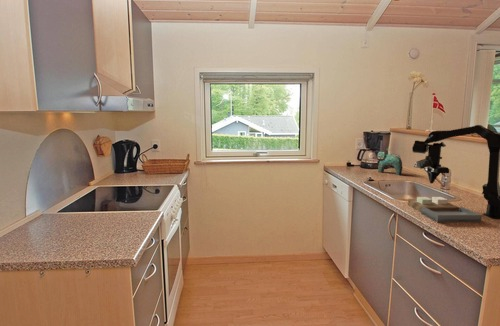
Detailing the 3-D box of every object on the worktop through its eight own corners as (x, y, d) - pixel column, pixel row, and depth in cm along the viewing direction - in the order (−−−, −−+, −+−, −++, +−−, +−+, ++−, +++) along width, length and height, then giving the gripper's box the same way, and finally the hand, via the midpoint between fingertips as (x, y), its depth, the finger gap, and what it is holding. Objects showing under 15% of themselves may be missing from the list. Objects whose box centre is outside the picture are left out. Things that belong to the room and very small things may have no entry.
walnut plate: (458, 213, 155) (459, 207, 155) (422, 213, 155) (423, 207, 154) (440, 204, 169) (441, 199, 168) (407, 205, 168) (408, 199, 168)
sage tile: (431, 204, 160) (432, 199, 159) (422, 204, 160) (422, 199, 159) (426, 201, 165) (426, 196, 164) (416, 201, 165) (417, 196, 164)
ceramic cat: (375, 172, 261) (377, 148, 257) (379, 171, 265) (381, 147, 262) (399, 175, 246) (401, 150, 242) (403, 174, 250) (405, 149, 247)
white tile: (447, 204, 160) (447, 199, 160) (437, 204, 160) (438, 199, 159) (441, 201, 165) (441, 196, 165) (431, 201, 165) (432, 196, 164)
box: (480, 222, 142) (481, 215, 142) (437, 222, 142) (438, 215, 141) (460, 213, 155) (461, 206, 155) (421, 213, 154) (421, 206, 154)
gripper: (409, 152, 176) (407, 179, 178) (429, 157, 157) (426, 187, 160) (429, 152, 176) (426, 179, 179) (451, 157, 158) (448, 187, 160)
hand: (431, 183), depth 169 cm, fingers closed
